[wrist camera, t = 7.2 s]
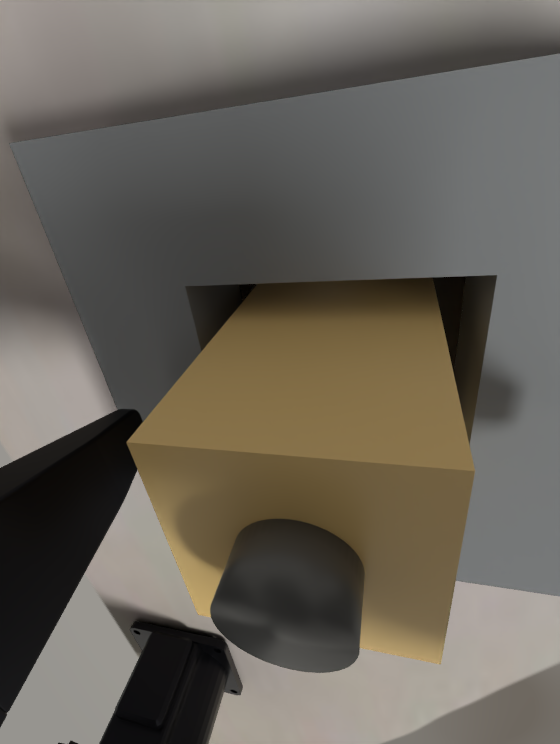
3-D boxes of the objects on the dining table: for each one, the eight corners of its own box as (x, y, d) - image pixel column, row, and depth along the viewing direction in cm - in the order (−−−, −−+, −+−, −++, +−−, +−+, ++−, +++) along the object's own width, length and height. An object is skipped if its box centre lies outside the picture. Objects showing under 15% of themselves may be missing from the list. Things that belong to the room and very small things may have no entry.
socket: (535, 507, 13) (567, 597, 11) (203, 474, 16) (169, 537, 14) (678, 47, 7) (828, 9, 5) (102, 136, 10) (9, 143, 8)
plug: (420, 409, 12) (446, 741, 6) (282, 402, 13) (174, 673, 7) (430, 269, 10) (493, 553, 4) (264, 276, 11) (79, 498, 5)
